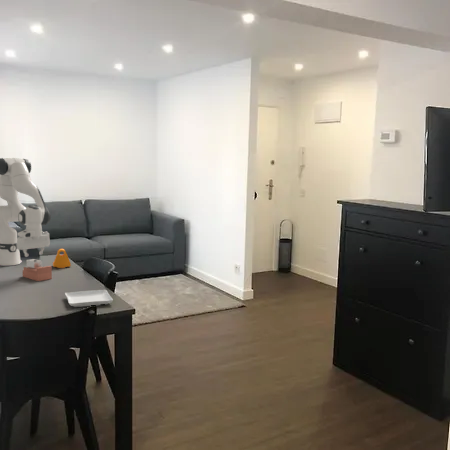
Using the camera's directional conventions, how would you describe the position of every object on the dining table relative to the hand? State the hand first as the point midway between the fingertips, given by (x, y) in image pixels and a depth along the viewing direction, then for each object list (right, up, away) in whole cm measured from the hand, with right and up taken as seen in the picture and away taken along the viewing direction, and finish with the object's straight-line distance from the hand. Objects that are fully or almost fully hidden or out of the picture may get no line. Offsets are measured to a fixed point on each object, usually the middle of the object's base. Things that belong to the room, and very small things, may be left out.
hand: (33, 255), depth 298 cm
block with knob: (0, -9, +1) cm, 9 cm away
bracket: (+6, -10, +33) cm, 35 cm away
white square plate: (+45, -21, -46) cm, 68 cm away
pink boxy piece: (+2, -13, -1) cm, 13 cm away
